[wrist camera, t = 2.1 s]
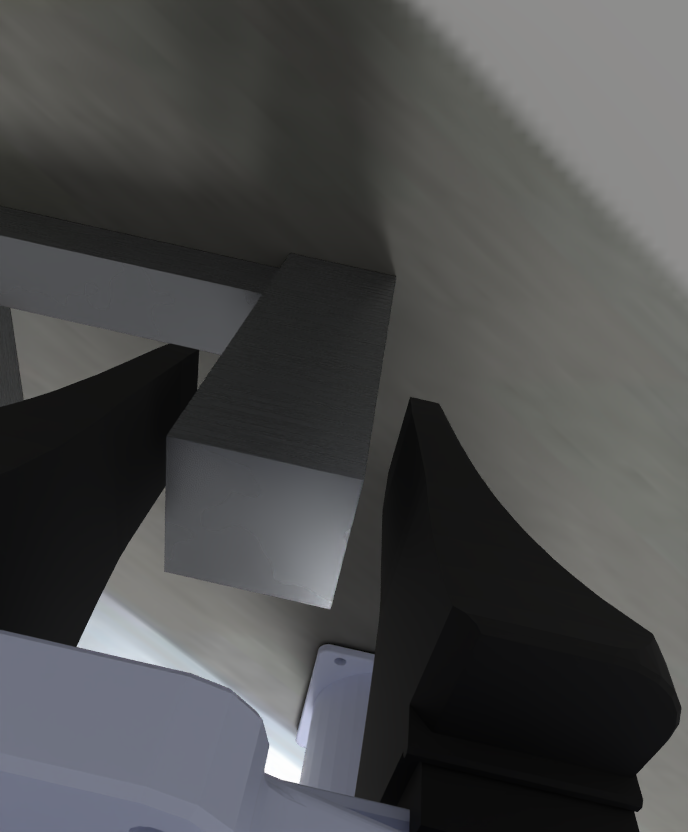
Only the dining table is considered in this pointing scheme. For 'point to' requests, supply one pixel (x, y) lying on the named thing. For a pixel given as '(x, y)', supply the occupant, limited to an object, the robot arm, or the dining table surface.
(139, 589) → the dining table surface
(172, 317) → the grey angled block
